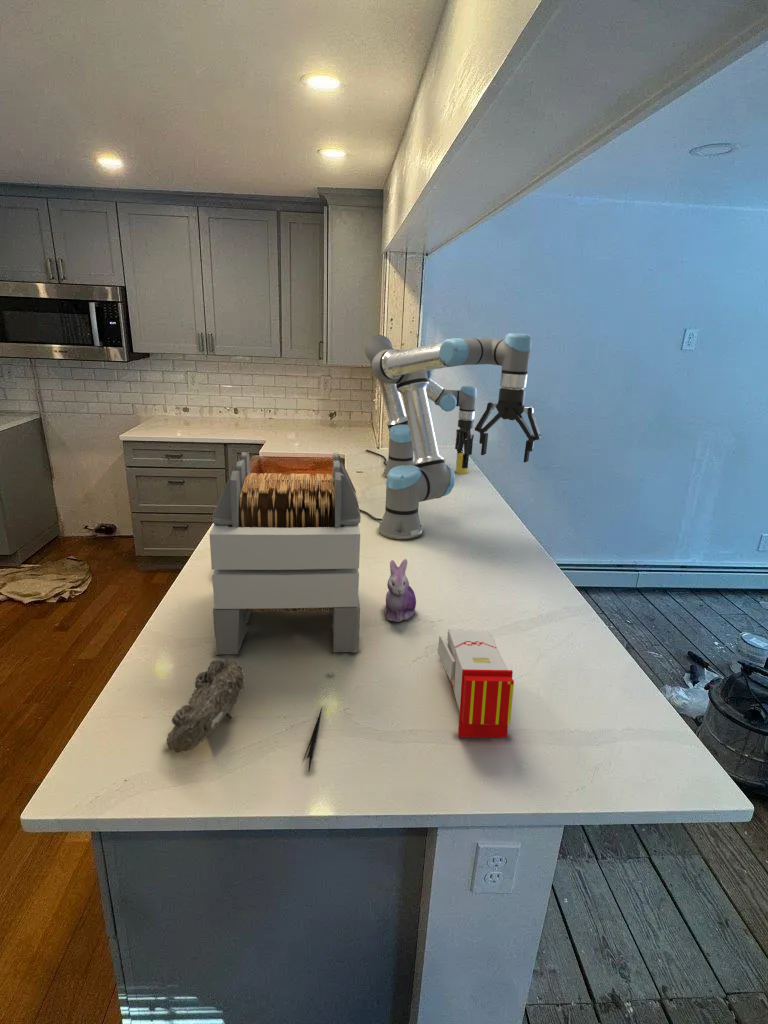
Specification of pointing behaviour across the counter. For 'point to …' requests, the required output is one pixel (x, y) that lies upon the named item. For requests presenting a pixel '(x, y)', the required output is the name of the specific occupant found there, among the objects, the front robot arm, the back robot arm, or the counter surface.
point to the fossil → (206, 705)
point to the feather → (313, 740)
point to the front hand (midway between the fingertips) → (504, 457)
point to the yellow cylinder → (460, 464)
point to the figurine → (399, 594)
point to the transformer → (285, 551)
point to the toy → (478, 682)
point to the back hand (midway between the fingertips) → (461, 466)
